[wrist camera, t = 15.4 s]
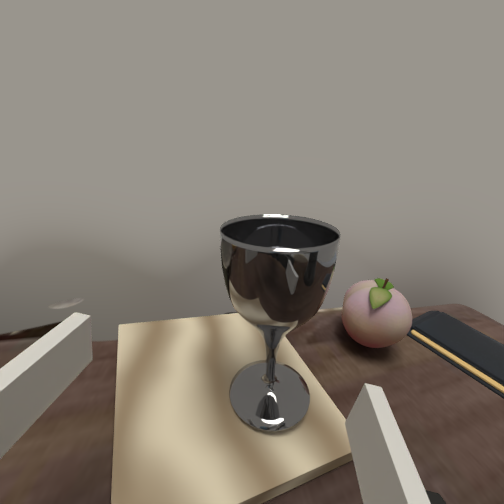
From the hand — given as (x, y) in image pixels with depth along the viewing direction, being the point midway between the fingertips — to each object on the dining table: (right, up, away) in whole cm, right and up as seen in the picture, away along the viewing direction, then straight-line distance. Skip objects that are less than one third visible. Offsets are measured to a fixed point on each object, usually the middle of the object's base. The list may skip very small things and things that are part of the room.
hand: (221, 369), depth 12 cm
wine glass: (+3, -7, +11) cm, 13 cm away
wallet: (+36, -11, +26) cm, 45 cm away
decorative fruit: (+17, -7, +23) cm, 29 cm away
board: (-1, -7, +12) cm, 14 cm away
